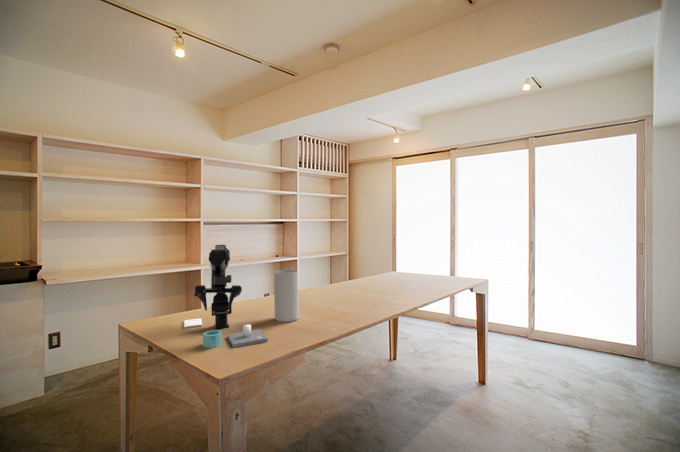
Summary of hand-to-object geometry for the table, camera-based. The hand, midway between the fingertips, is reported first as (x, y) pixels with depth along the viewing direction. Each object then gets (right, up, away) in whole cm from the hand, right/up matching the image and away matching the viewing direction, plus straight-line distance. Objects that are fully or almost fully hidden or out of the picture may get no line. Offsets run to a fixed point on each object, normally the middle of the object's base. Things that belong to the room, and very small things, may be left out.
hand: (217, 310), depth 138 cm
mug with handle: (-2, -14, 0) cm, 14 cm away
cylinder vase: (+23, -14, +36) cm, 45 cm away
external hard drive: (-23, -15, +29) cm, 41 cm away
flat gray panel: (+11, -14, +5) cm, 19 cm away
